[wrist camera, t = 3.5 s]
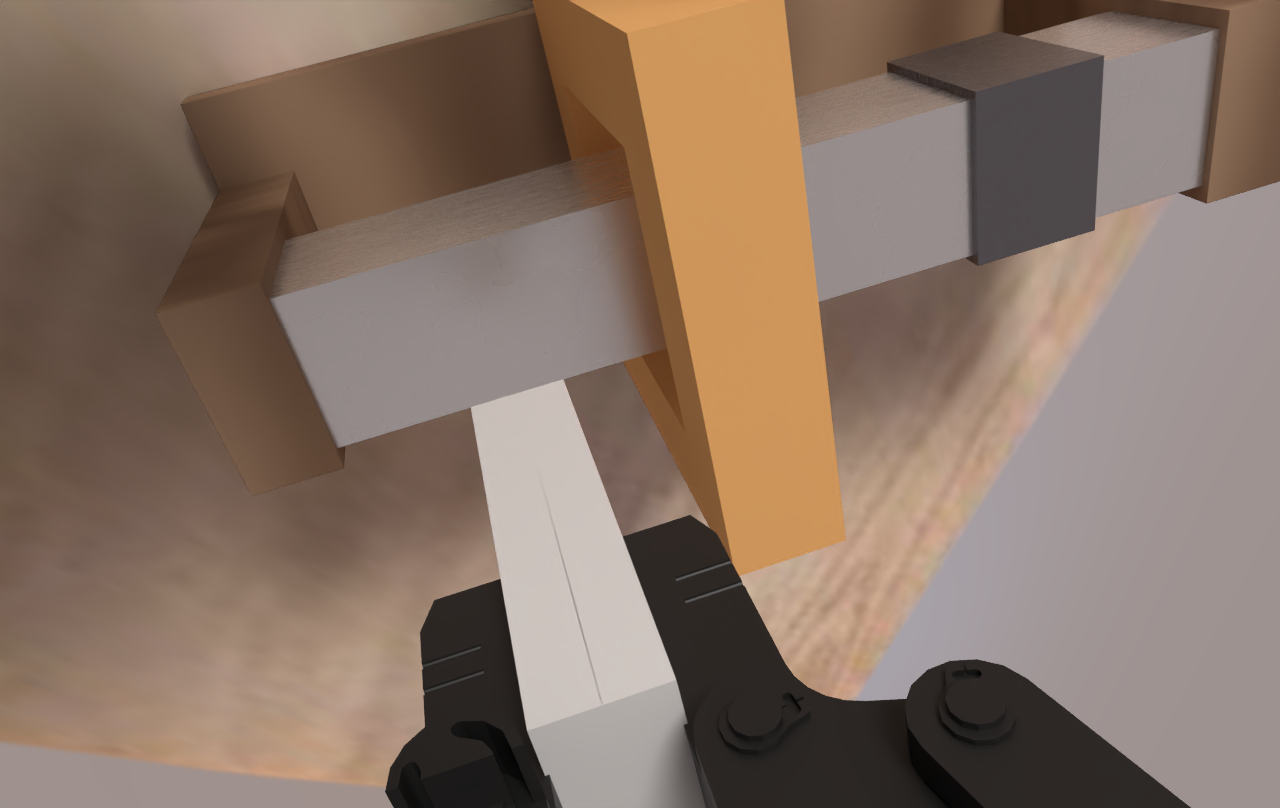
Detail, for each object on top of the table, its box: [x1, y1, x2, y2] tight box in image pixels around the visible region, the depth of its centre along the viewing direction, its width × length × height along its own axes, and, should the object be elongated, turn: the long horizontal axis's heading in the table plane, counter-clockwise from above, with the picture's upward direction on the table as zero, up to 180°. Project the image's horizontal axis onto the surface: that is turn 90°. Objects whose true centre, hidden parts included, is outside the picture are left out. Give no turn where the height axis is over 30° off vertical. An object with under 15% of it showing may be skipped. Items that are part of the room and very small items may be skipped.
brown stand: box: [155, 0, 1280, 496], centre depth 24 cm, size 25×9×10 cm, turn 102°
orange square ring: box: [532, 0, 846, 576], centre depth 22 cm, size 2×11×11 cm, turn 12°
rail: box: [270, 11, 1220, 448], centre depth 22 cm, size 22×4×4 cm, turn 102°
